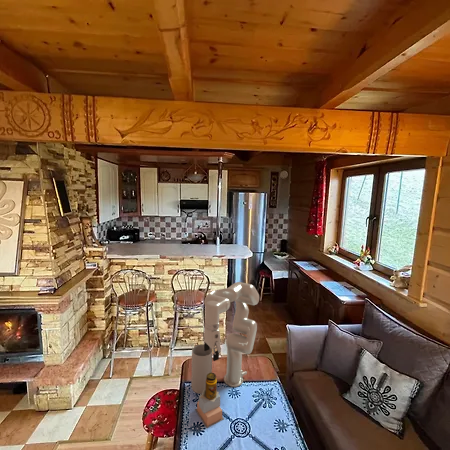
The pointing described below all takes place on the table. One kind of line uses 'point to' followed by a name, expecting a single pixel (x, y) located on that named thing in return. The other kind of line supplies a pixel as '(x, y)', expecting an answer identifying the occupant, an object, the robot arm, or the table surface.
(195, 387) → the cylinder vase
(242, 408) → the table surface
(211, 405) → the brick
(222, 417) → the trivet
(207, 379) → the condiment
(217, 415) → the brick
